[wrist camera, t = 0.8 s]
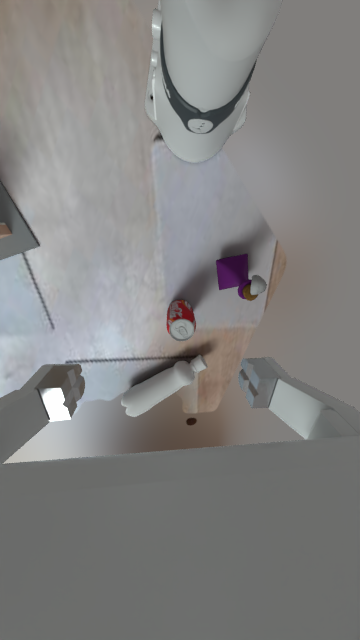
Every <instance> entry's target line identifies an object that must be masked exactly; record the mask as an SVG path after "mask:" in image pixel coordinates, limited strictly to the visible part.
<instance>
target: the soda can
mask: <svg viewBox="0 0 360 640" xmlns="http://www.w3.org/2000/svg"><path fill="white" fill-rule="evenodd" d="M195 329H196V321H195V317H194V313H193V310H192V307H191V306H190V304H189V303H188V302H187V301H184V300H176V301H173V302H172V303H171V304H170V305H169V308H168V311H167V330H168V332H169V334H170V335H171V337H172V338H173V339H175V340H177V341H186V340H188V339H190V338H191V337H192V336H193V334H194V332H195Z"/></svg>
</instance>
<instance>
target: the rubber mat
mask: <svg viewBox="0 0 360 640" xmlns="http://www.w3.org/2000/svg"><path fill="white" fill-rule="evenodd" d="M0 223H5V224H6V225H7V227H8V229H9V230H10V232H11V233H12V235H9V236H7V237H4V238H1V239H0V260H2V259H5V258H8V257H10V256H13V255H16V254H19V253H22V252H25V251H28V250H30V249H33V248H36V247H39V244H38V242H37V241H36V239H35V237H34V236H33V234H32V232H31V231H30V229H29V227H28V226H27V224H26V222H25V221H24V219H23V217H22V216H21V214H20V212H19V211H18V209H17V207H16V206H15V204H14V202H13V201H12V199H11V198H10V196H9V194H8V193H7V191H6V189H5V188H4V186H3V184H2V183H1V181H0Z"/></svg>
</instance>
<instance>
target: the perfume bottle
mask: <svg viewBox="0 0 360 640" xmlns="http://www.w3.org/2000/svg"><path fill="white" fill-rule="evenodd" d="M216 265H217V274H218V284H219V290H222V289H227V288H232V287H237V286H239V288H238V295H239V296H240V297H241V298H242V299H247V300H249V301H252V300H254V299H255V298H256V297H257V296H258V294H260V293H262V292H263V291H265V289H266V286H267V284H266V282H265V281H264V279H262V278H261V277H260V276H257V275H253V276H252V280H249V279H248V254H243V255H238V256H233V257H228V258H224V259H219V260H216Z"/></svg>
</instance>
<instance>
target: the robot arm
mask: <svg viewBox="0 0 360 640" xmlns="http://www.w3.org/2000/svg"><path fill="white" fill-rule="evenodd" d="M282 1H283V0H159V2H158V9H156V8H155V9H154V10H153V18H152V36H153V38H154V39H153V46H152V53H151V61H150V68H149V76H148V83H147V90H146V98H145V111H146V114H147V115H148V117H149V118H150V119H151V120H152V121H153V122H154V123H155V124H156V125H157V126H158V128H159V130H160V132H161V134H162V137H163V139H164V141H165V143H166V144H167V146H168V147H169V149H170V150H171V151H172V152H173V153H174V154H175V155H176V156H177V157H179V158H181V159H182V160H185V161H188V162H194V163H195V162H202V161H205V160H208V159H210V158H211V157H213V156H214V155H215V154H216V153H217V152H218V151H219V150H220V149H221V148H222V147H223V145H224V144H225V142H226V141H227V139H228V138H229V136H230V135H231V134H233V133H234V132H236V131H237V130H239V129H240V128H241V127H242V126H243V124H244V122H245V120H246V108H247V102H248V99H249V96H250V92H249V82H250V80H251V77H252V73H253V70H254V68H255V64H256V60H257V57H258V55H259V53H260V51H261V49H262V47H263V45H264V43H265V41H266V39H267V37H268V35H269V33H270V31H271V29H272V27H273V25H274V23H275V20H276V18H277V16H278V13H279V10H280V8H281V4H282ZM152 96H153V100H151V97H152ZM241 366H242V368H243V369H242V370H241V371H240V372H239V377H238V378H239V384H240V387H241V389H242V390H243V391H244V392H245V393H247V394H246V399H247V400H248V402H249V404H250V406H251V408H269V409H270V410H271V411H272V412H273V413H275V414H276V415H277V416H278V417H279V418H281V419H282V420H283V421H284V422H285V423H287V424H288V425H289V426H290V427H291V428H293V429H294V430H295V431H297V432H298V433H299V434H300V435H301V436H302V437H304V438H305V439H306V440H295V441H283V442H271V443H258V444H246V445H233V446H221V447H209V448H196V449H183V450H171V451H159V452H145V453H133V454H121V455H108V456H96V457H82V458H71V459H57V460H46V461H32V462H20V463H9V464H8V463H7V464H2V463H4V462H5V461H6V460H7V459H8V458H9V457H10V456H12V455H13V454H14V453H15V452H16V451H17V450H18V449H20V448H21V447H22V446H23V445H24V444H25V443H26V442H27V441H29V440H30V439H31V438H32V437H33V436H34V435H35V434H37V433H38V432H39V431H40V430H41V429H42V428H43V427H45V426H46V425H47V424H48V423H49V422H50V421H55V420H66V419H71V417H72V415H73V413H74V411H75V409H76V407H77V404H76V402H77V401H78V400H79V399H81V397H82V395H83V393H84V389H85V381H84V378H83V377H82V376H81V375H80V374H81V372H82V369H81V365H79V364H46V365H43V366H42V367H41V368H40V369H39V370H38V371H37V372H36V373H35V374H34V375H33V376H32V377H31V378H30V379H29V380H28V381H27V382H26V384H25V385H24V386H23V387H22V388H21V389H20V390H15V391H13V392H11V393H9V394H7V395H5V396H3V397H1V398H0V640H360V412H359V411H358V410H356V409H355V408H354V407H352V406H350V405H348V404H346V403H344V402H342V401H340V400H338V399H336V398H334V397H332V396H330V395H328V394H326V393H324V392H322V391H320V390H318V389H316V388H314V387H312V386H310V385H308V384H306V383H304V382H302V381H300V380H298V379H296V378H291V377H290V376H289V375H288V373H287V372H285V370H284V369H283V368H282V367H281V366H280V365H279V364H278V363H277V362H276V361H275V360H274V359H273V358H272V357H265V358H250V359H243V360H242V362H241Z"/></svg>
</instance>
